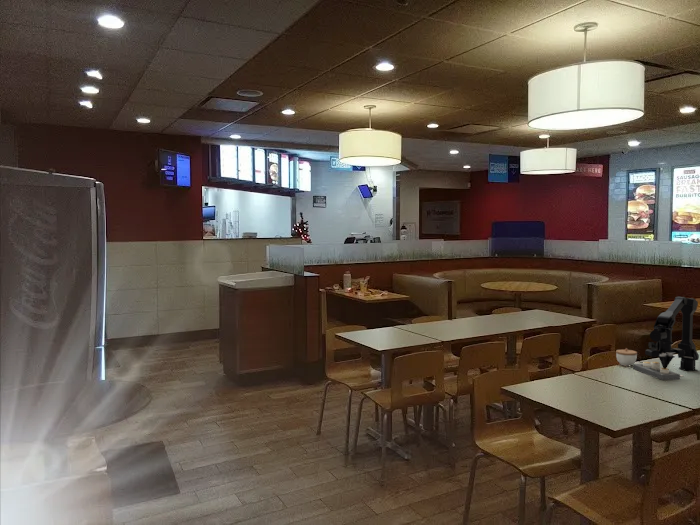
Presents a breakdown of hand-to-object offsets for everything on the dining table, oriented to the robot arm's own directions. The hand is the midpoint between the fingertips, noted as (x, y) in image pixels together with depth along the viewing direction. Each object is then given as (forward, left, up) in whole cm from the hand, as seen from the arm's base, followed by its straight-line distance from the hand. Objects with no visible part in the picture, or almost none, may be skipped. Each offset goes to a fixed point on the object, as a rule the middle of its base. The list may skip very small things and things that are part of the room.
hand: (664, 368), depth 291 cm
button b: (0, -7, -2) cm, 7 cm away
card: (-8, -7, -4) cm, 12 cm away
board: (0, -7, -4) cm, 8 cm away
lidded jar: (+3, -28, -5) cm, 29 cm away
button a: (0, -14, -4) cm, 15 cm away
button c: (0, 0, -4) cm, 4 cm away
